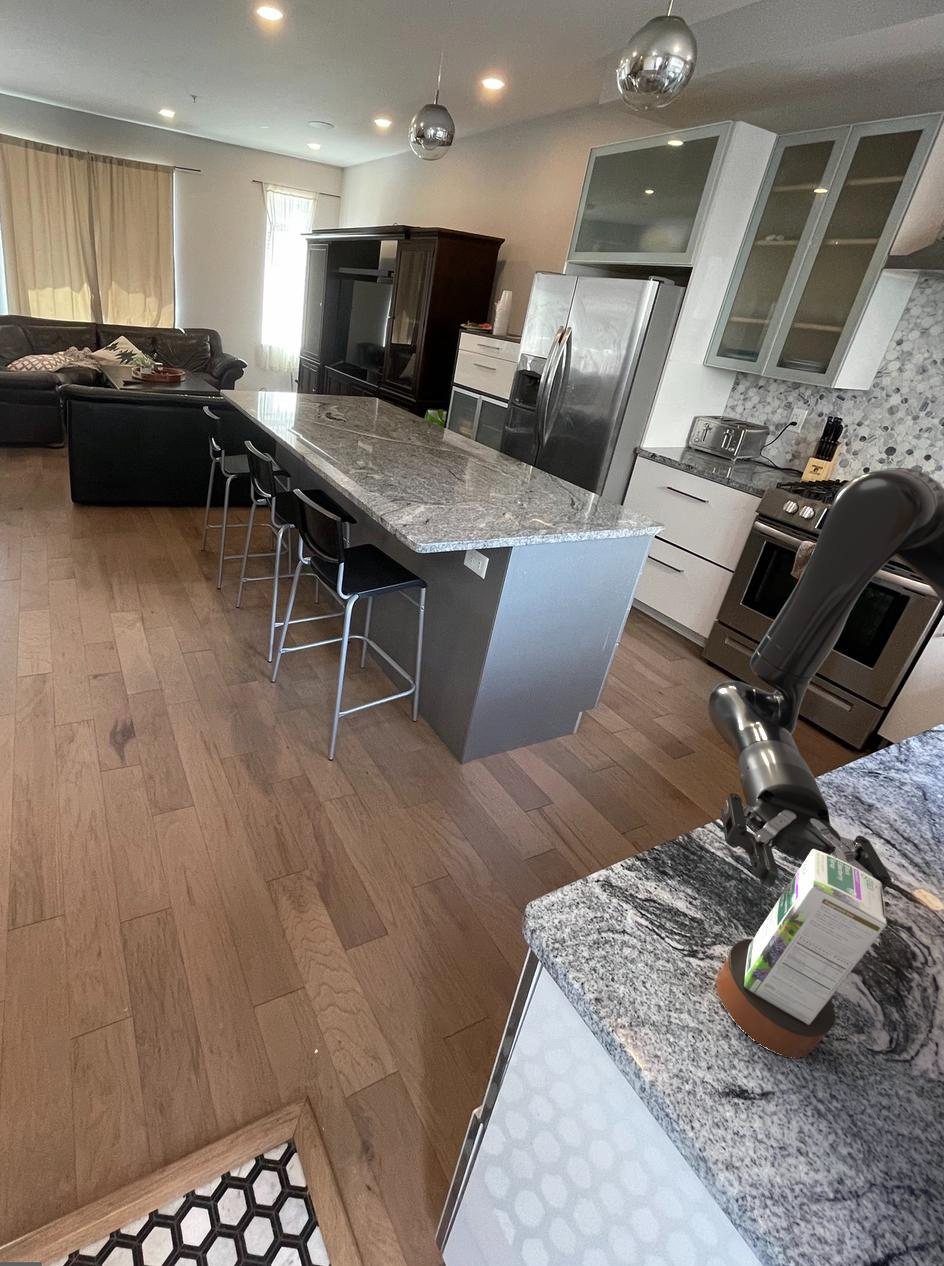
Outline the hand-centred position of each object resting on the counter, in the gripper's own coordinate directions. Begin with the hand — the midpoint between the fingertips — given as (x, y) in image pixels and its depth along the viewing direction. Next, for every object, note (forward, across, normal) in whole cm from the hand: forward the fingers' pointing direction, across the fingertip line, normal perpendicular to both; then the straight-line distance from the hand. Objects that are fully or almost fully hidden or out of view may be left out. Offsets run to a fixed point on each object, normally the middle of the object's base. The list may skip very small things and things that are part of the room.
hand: (820, 898), depth 59 cm
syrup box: (+2, 0, +10) cm, 10 cm away
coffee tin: (+2, 0, +14) cm, 14 cm away
